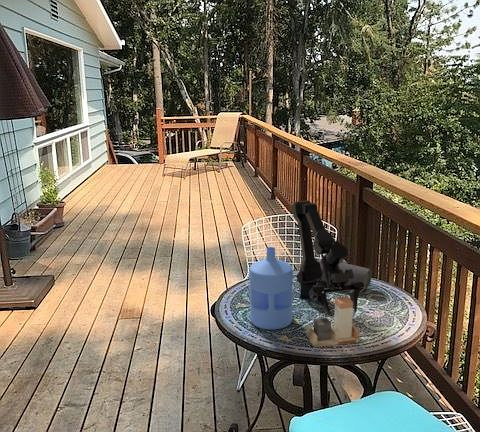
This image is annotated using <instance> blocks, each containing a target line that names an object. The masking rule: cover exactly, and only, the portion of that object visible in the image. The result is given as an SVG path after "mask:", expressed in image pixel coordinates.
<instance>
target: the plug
mask: <svg viewBox="0 0 480 432" xmlns="http://www.w3.org/2000/svg"><path fill="white" fill-rule="evenodd" d="M353 313H354V309H353V302H352V301H351V299H350V296H339V297H335V298H334V314H333V317H334V318H333V319H334V320H333V321H334V322H333V327H334V328H335V330H336V331H337V332H338V338H339V339H341V338H349V337H351V335H352V323H353Z"/></svg>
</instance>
